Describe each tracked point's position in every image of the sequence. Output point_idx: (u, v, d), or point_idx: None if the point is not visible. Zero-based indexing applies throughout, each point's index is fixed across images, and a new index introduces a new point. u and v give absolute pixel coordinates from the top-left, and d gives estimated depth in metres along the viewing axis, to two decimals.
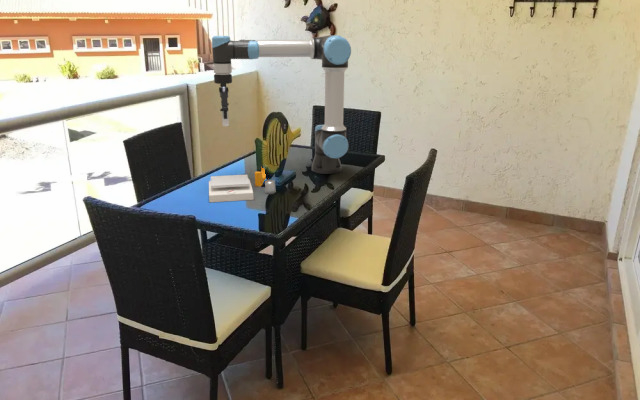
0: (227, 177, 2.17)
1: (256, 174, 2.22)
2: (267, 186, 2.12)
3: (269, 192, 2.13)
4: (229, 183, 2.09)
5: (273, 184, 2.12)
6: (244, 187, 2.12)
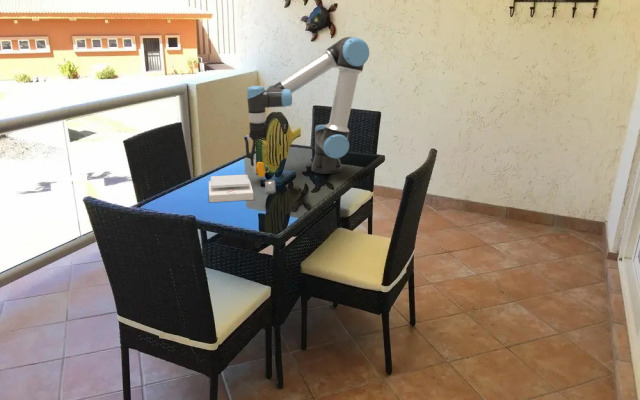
0: (227, 177, 2.17)
1: (259, 164, 2.19)
2: (267, 186, 2.12)
3: (269, 192, 2.13)
4: (229, 183, 2.09)
5: (273, 184, 2.12)
6: (244, 187, 2.12)
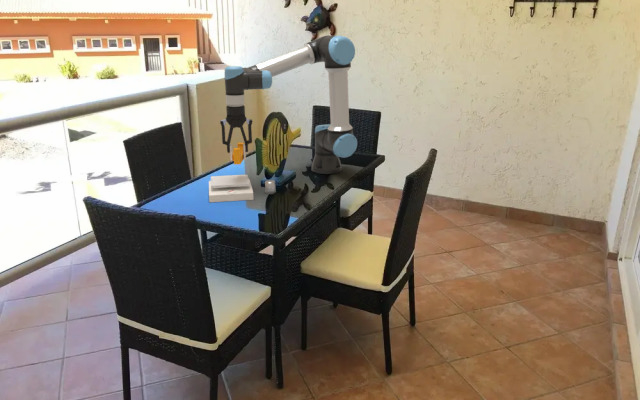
0: (227, 177, 2.17)
1: (235, 151, 2.03)
2: (267, 186, 2.12)
3: (269, 192, 2.13)
4: (229, 183, 2.09)
5: (273, 184, 2.12)
6: (244, 187, 2.12)
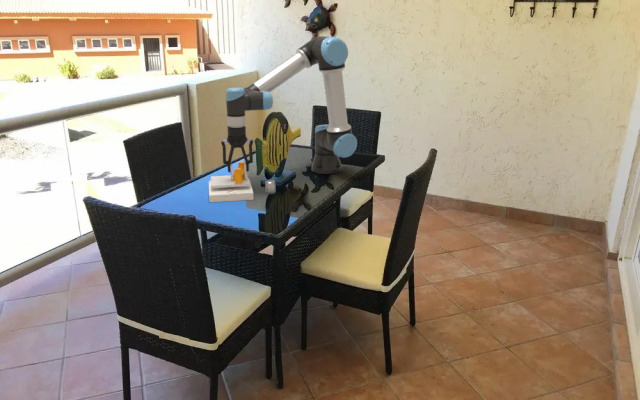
0: (227, 177, 2.17)
1: (236, 171, 2.06)
2: (267, 186, 2.12)
3: (269, 192, 2.13)
4: (229, 183, 2.09)
5: (273, 184, 2.12)
6: (244, 187, 2.12)
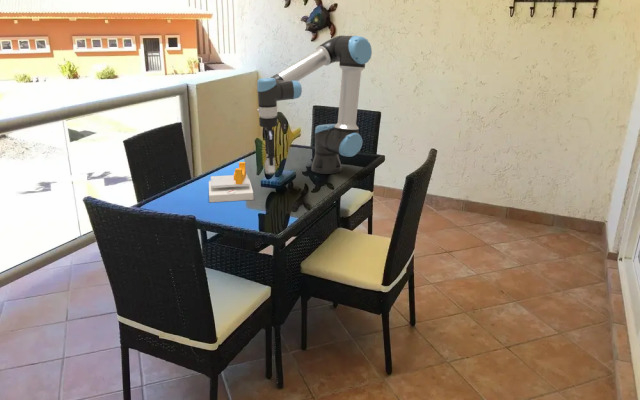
0: (227, 177, 2.17)
1: (237, 171, 2.06)
2: (267, 166, 2.09)
3: None
4: (229, 183, 2.09)
5: None
6: (244, 187, 2.12)
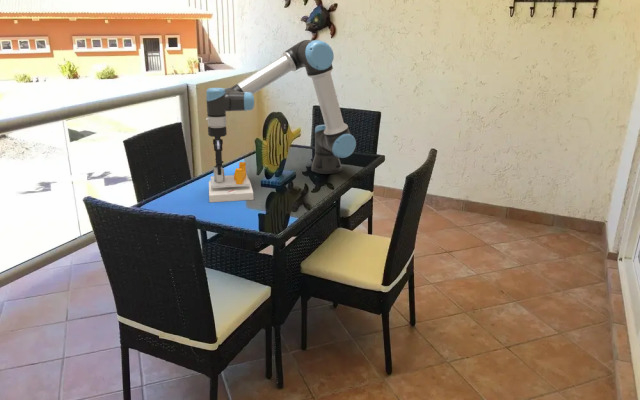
0: (227, 177, 2.17)
1: (237, 171, 2.06)
2: (215, 174, 2.10)
3: None
4: (229, 183, 2.09)
5: None
6: (244, 187, 2.12)
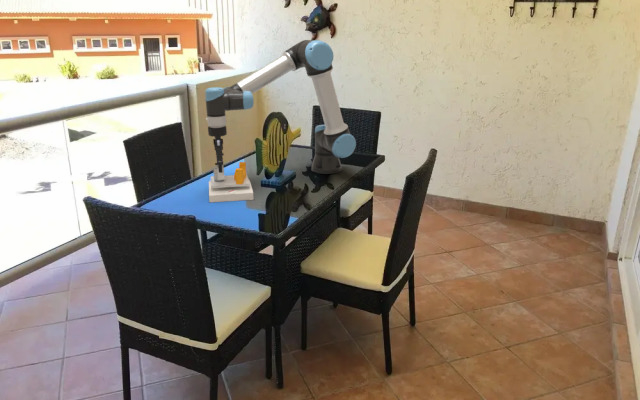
0: (227, 177, 2.17)
1: (237, 171, 2.06)
2: (215, 174, 2.10)
3: (218, 180, 2.10)
4: (229, 183, 2.09)
5: None
6: (244, 187, 2.12)
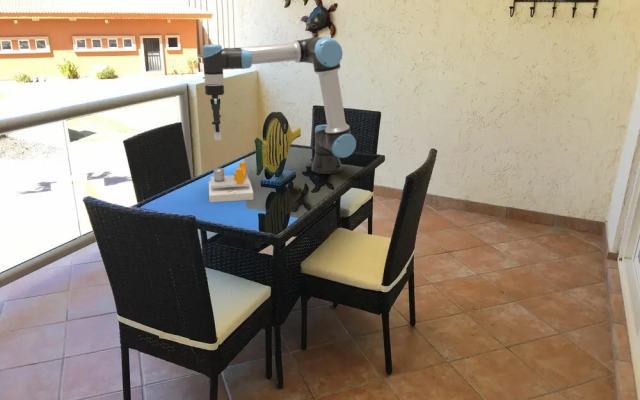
0: (227, 177, 2.17)
1: (237, 171, 2.06)
2: (215, 174, 2.10)
3: (218, 180, 2.10)
4: (229, 183, 2.09)
5: (222, 172, 2.10)
6: (244, 187, 2.12)
